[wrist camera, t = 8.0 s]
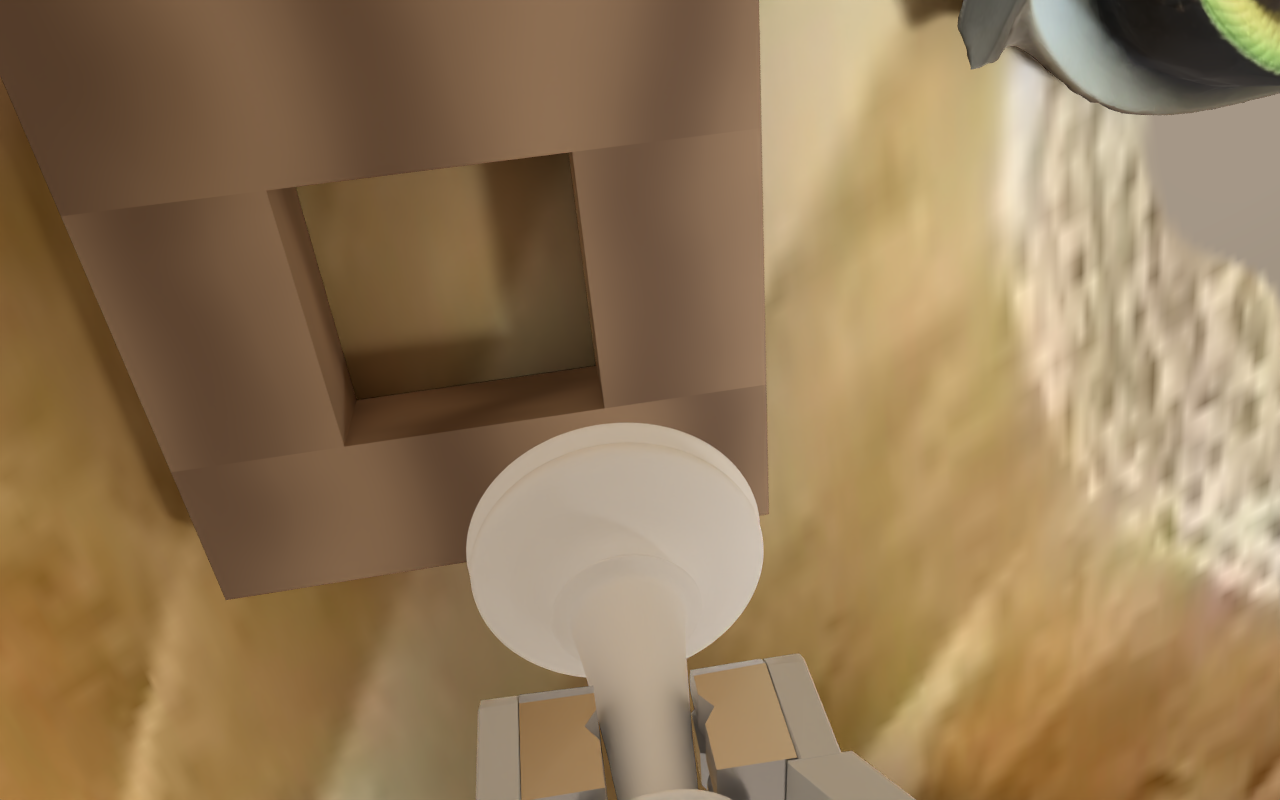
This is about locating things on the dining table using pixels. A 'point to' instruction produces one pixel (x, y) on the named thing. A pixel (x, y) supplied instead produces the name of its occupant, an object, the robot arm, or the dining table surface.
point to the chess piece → (620, 580)
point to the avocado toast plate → (1138, 48)
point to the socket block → (377, 146)
